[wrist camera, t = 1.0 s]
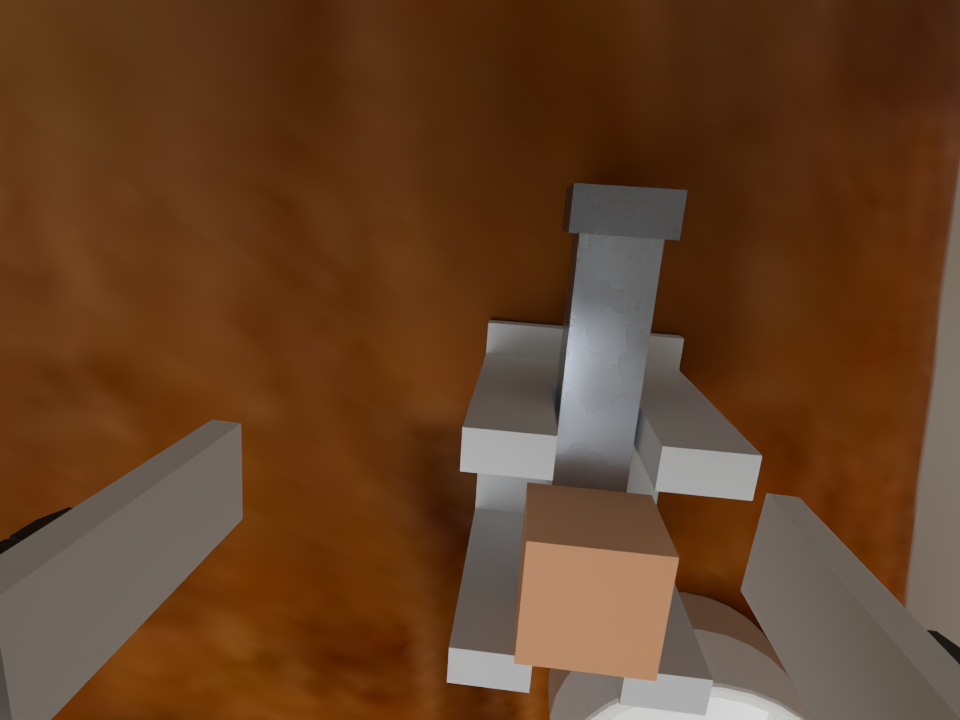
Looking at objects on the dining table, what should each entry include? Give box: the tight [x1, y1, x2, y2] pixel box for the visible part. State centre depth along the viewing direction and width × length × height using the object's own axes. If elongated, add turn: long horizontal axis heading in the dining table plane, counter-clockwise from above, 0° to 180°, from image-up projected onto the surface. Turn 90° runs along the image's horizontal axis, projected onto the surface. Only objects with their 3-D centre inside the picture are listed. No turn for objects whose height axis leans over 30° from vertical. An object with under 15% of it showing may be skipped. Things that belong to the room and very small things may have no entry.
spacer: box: [514, 482, 679, 681], centre depth 25 cm, size 6×6×5 cm
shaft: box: [546, 183, 688, 492], centre depth 28 cm, size 24×5×5 cm, turn 176°
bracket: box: [447, 320, 762, 716], centre depth 30 cm, size 17×12×14 cm
